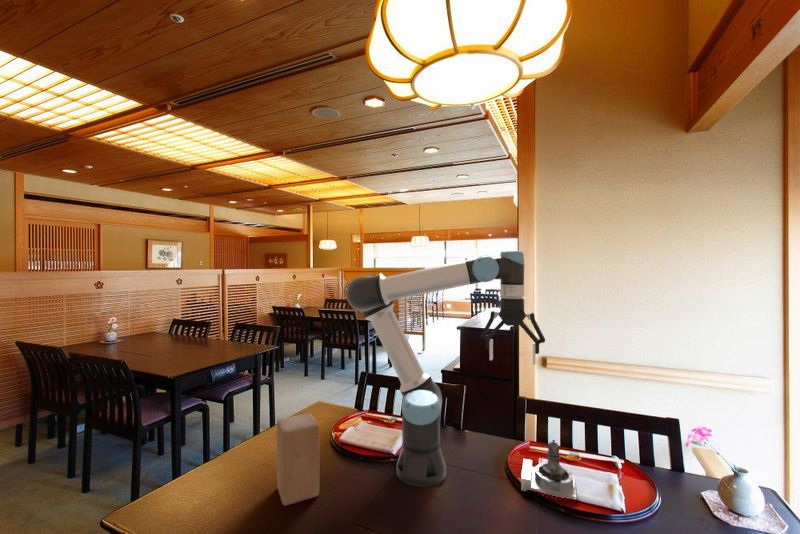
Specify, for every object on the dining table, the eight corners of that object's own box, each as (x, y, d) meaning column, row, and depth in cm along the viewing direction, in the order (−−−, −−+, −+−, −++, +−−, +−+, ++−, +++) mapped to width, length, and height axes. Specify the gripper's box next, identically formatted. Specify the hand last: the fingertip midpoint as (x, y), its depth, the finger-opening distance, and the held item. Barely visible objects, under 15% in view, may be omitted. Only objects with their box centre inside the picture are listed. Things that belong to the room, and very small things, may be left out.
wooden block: (282, 508, 94) (282, 432, 94) (276, 487, 103) (276, 418, 103) (320, 497, 99) (320, 424, 99) (311, 477, 108) (311, 411, 107)
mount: (521, 490, 101) (521, 476, 101) (523, 469, 112) (523, 456, 112) (576, 502, 96) (576, 487, 96) (573, 480, 106) (573, 466, 106)
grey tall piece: (567, 488, 100) (567, 445, 100) (544, 486, 101) (544, 443, 101) (562, 476, 106) (562, 435, 105) (540, 474, 107) (540, 433, 107)
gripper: (472, 297, 120) (472, 360, 120) (553, 299, 111) (553, 368, 111) (476, 295, 127) (476, 355, 127) (553, 297, 117) (552, 362, 118)
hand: (512, 361), depth 119 cm, fingers open, 13 cm apart
